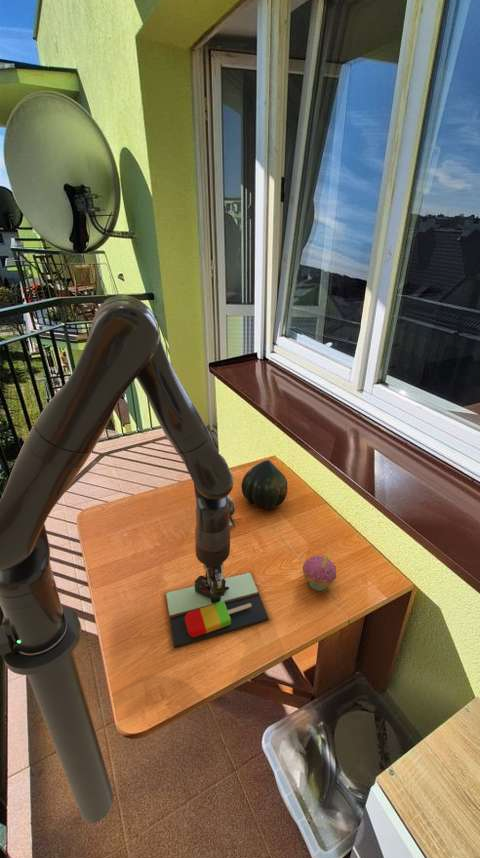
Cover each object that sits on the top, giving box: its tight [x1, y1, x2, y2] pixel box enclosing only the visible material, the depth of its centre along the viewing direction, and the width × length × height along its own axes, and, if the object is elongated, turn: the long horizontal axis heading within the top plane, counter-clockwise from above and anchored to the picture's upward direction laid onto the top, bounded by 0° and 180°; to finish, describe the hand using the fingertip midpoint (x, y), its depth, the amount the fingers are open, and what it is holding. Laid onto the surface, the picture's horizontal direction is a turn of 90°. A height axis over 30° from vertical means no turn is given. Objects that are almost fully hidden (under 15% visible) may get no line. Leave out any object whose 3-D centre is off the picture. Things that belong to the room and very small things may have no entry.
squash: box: [240, 459, 288, 511], centre depth 123 cm, size 14×15×15 cm
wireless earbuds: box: [194, 575, 229, 599], centre depth 91 cm, size 5×7×3 cm, turn 66°
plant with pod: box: [227, 495, 237, 528], centre depth 109 cm, size 8×11×20 cm
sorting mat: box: [165, 572, 270, 649], centre depth 88 cm, size 21×14×1 cm, turn 112°
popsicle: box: [185, 601, 252, 637], centre depth 85 cm, size 6×15×2 cm, turn 115°
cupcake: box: [302, 553, 337, 591], centre depth 94 cm, size 9×8×12 cm
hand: (212, 591), depth 90 cm, fingers closed on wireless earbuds, 5 cm apart
